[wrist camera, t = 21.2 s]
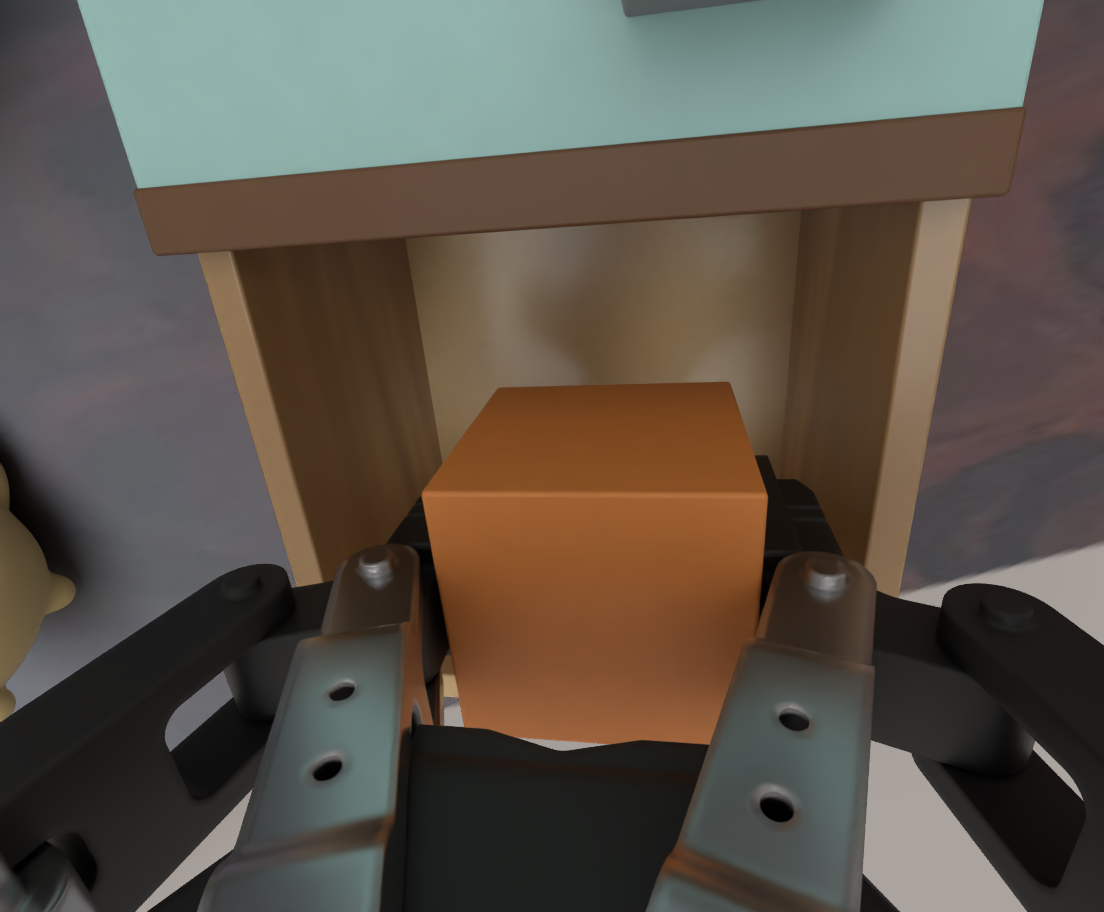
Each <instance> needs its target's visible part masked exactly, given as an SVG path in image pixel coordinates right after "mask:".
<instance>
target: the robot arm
mask: <svg viewBox="0 0 1104 912" xmlns="http://www.w3.org/2000/svg"><path fill="white" fill-rule="evenodd" d="M754 456H755V459H756V462H757V465H758V468H759V471H760V474H761V477H762V480H763V483H764V486H765V489H766V492H767V495H768V505H767V519H766V532H765V546H764V559H763V572H762V586H761V599H760V613H759V624H758V627H757V631H756V634H755V636H751V635H747V636H746V638H745V640H744V642H743V645H742V648H741V651H740V654H739V657H738V660H737V663H736V666H735V669H734V672H733V675H732V678H731V681H730V684H729V687H728V690H727V693H726V696H725V699H724V702H723V705H722V708H721V711H720V715H719V718H718V721H717V724H716V727H715V730H714V733H713V736H712V739H711V742H710V745H708V744H694V743H680V742H666V741H652V740H636V741H630V742H623V743H616V744H609V745H603V746H596V747H589V748H582V749H576V750H569V751H558V750H554V749H550V748H547V747H543V746H540V745H537V744H534V743H531V742H528V741H525V740H522V739H518V738H515V737H512V736H509V735H506V734H503V733H500V732H496V731H493V730H490V729H482V728H468V727H454V726H444V682H443V676H442V671H441V666H442V664H443V661H444V659H445V657H446V655H451V652H450V647H449V642H448V636H447V631H446V625H445V620H444V614H443V609H442V604H441V598H440V593H439V587H438V582H437V577H436V571H435V566H434V560H433V555H432V549H431V544H430V539H429V533H428V528H427V522H426V517H425V512H424V506H423V501H422V494H421V496H420V497H419V498H418V500H417V501H416V503H415V506H413V507H412V508H411V510H410V511H409V512H408V516H407V517H405V518H404V519H403V521H402V522H401V523H400V525H399V526H398V528H397V529H396V530H395V532H394V533H393V535H392V536H391V537H390V539H389V540H388V541H387V543H386V544H381V545H376V546H372V547H368V548H366V549H363V550H360V551H358V552H356V553H354V554H353V555H351V556H349V557H348V558H347V559H345V560H344V561H343V562H342V563H341V564H340V566H339V567H338V568H337V571H336V574H335V578H334V580H333V581H329V582H323V583H318V584H312V585H306V586H300V587H295V588H291V585H290V581H289V578H288V575H287V572H286V571H285V569H284V568H282V567H280V566H277V565H273V564H256V565H250V566H246V567H242V568H239V569H236V570H233V571H231V572H228V573H226V574H224V575H222V576H220V577H218V578H217V579H215V580H213V581H212V582H210V583H209V584H207V585H206V586H204V587H203V588H201V589H200V590H198V591H197V592H195V593H194V594H192V595H191V596H189V597H188V598H186V599H185V600H183V601H182V602H180V603H179V604H177V605H176V606H174V607H173V608H171V609H170V610H168V611H167V612H165V613H164V614H162V615H161V616H159V617H158V618H156V619H155V620H153V621H152V622H150V623H149V624H147V625H146V626H144V627H143V628H141V629H140V630H138V631H137V632H135V633H134V634H132V635H131V636H129V637H128V638H126V639H125V640H123V641H122V642H120V643H119V644H117V645H116V646H114V647H113V648H111V649H110V650H108V651H107V652H105V653H104V654H102V655H101V656H99V657H98V658H96V659H95V660H93V661H92V662H90V663H89V664H87V665H86V666H84V667H83V668H81V669H80V670H78V671H76V672H75V673H73V674H72V675H70V676H69V677H67V678H66V679H64V680H63V681H61V682H60V683H58V684H57V685H55V686H54V687H52V688H51V689H49V690H48V691H46V692H45V693H43V694H42V695H40V696H39V697H37V698H36V699H34V700H33V701H31V702H30V703H28V704H27V705H25V706H24V707H22V708H21V709H19V710H18V711H16V712H15V713H13V714H12V715H10V716H9V717H7V718H6V719H4V720H3V721H1V722H0V912H135V911H136V910H137V909H138V908H139V907H140V906H141V905H142V904H143V903H144V902H145V901H146V900H147V898H149V897H150V896H151V894H152V893H153V892H154V891H155V890H156V889H157V888H158V887H159V886H160V885H161V884H162V883H163V882H164V881H165V880H166V879H167V878H168V877H169V876H170V875H171V873H173V871H174V870H175V869H176V868H177V867H178V866H179V865H180V864H181V863H182V862H183V861H184V860H185V859H186V858H187V857H188V856H189V855H190V854H191V852H193V850H194V849H195V848H196V847H197V846H198V845H199V844H200V843H201V842H202V841H203V840H204V839H205V838H206V837H207V836H208V835H209V833H211V832H212V830H213V829H214V828H215V827H216V826H217V825H218V824H219V823H220V822H221V821H222V820H223V819H224V818H225V817H226V816H227V815H228V814H229V813H230V812H231V811H232V810H233V808H234V807H235V806H236V805H237V804H238V803H239V802H240V801H241V800H242V799H243V798H244V797H245V796H246V795H247V794H248V793H249V792H250V791H251V790H252V789H253V790H252V793H251V796H250V800H249V803H248V807H247V810H246V813H245V816H244V819H243V823H242V826H241V829H240V833H239V836H238V839H237V842H236V845H235V847H234V849H233V850H232V851H230V852H229V853H228V854H227V855H225V856H223V857H222V858H221V859H219V860H218V861H217V862H215V863H214V864H212V865H211V866H210V867H208V868H207V869H205V870H204V871H203V872H201V873H200V874H198V875H197V876H196V877H194V878H193V879H191V880H190V881H189V882H187V883H186V884H185V885H183V886H182V887H180V888H179V889H178V890H176V891H175V892H173V893H172V894H171V895H169V896H168V897H167V898H165V899H164V900H163V901H161V902H160V903H158V904H157V905H156V906H154V907H153V908H151V909H150V910H149V911H147V912H900V911H899V910H898V909H897V908H896V907H895V906H894V905H893V904H892V903H891V902H890V901H889V900H888V899H887V898H886V897H885V896H884V895H883V894H882V893H881V892H880V891H879V890H878V889H877V888H876V887H875V886H874V885H873V884H872V883H871V882H870V881H869V880H868V878H866V876H864V874H863V873H862V872H863V855H864V839H865V824H866V807H867V792H868V776H869V761H870V745H871V744H870V743H871V740H872V741H875V742H879V743H882V744H885V745H888V746H891V747H894V748H898V749H901V750H904V751H907V752H910V753H912V757H913V759H914V761H915V763H916V765H917V766H918V768H919V769H920V771H921V772H922V773H923V775H924V776H925V777H926V779H927V780H928V781H929V782H930V784H931V785H932V787H933V788H934V789H935V790H936V792H937V793H938V794H939V796H940V797H941V798H942V800H943V801H944V802H945V804H946V805H947V806H948V807H949V809H950V810H951V812H952V813H953V814H954V816H955V817H956V818H957V820H958V821H959V822H960V824H961V825H962V826H963V827H964V829H965V830H966V831H967V832H968V834H969V835H970V837H971V838H972V839H973V841H974V842H975V843H976V845H977V846H978V847H979V849H980V850H981V851H982V853H983V854H984V855H985V856H986V858H987V859H988V860H989V862H990V863H991V864H992V866H993V867H994V868H995V870H996V871H997V872H998V874H999V875H1000V876H1001V878H1002V879H1003V880H1004V881H1005V883H1006V884H1007V885H1008V887H1009V888H1010V889H1011V891H1012V892H1013V893H1014V895H1015V896H1016V897H1017V899H1018V900H1019V901H1020V903H1021V904H1022V905H1023V907H1024V908H1025V909H1026V911H1027V912H1104V645H1102V644H1101V643H1100V642H1098V641H1097V640H1096V639H1094V638H1093V637H1092V636H1090V635H1089V634H1087V633H1086V632H1085V631H1083V630H1082V629H1080V628H1079V627H1078V626H1077V625H1075V624H1074V623H1073V622H1071V621H1070V620H1068V619H1067V618H1066V617H1064V616H1063V615H1061V614H1060V613H1059V612H1058V611H1056V610H1055V609H1054V608H1052V607H1051V606H1049V605H1048V604H1046V603H1044V602H1043V601H1041V600H1039V599H1037V598H1035V597H1033V596H1031V595H1028V594H1026V593H1023V592H1021V591H1018V590H1015V589H1011V588H1007V587H1004V586H998V585H992V584H981V583H980V584H979V583H974V584H964V585H959V586H956V587H954V588H952V589H950V590H949V591H947V593H946V594H945V595H944V598H943V601H942V606H941V608H940V607H935V606H930V605H926V604H921V603H917V602H912V601H907V600H903V599H899V598H896V597H893V596H890V595H887V594H884V593H882V592H880V591H877V583H876V580H875V578H874V576H873V575H872V574H871V572H870V571H869V570H867V569H866V568H865V567H864V566H862V565H861V564H859V563H857V562H856V561H854V560H851V559H849V558H847V557H844V555H843V553H842V551H841V549H840V547H839V545H838V542H837V540H836V538H835V536H834V534H833V532H832V530H831V528H830V526H829V524H828V522H826V517H825V515H824V513H823V511H822V509H820V505H819V503H818V500H817V498H816V496H815V494H814V492H813V491H812V490H810V489H809V488H808V487H806V486H805V485H803V484H802V483H801V482H799V481H798V480H797V479H776V476H775V474H774V471H773V468H772V466H771V463H770V460H769V458H768V456H767V455H754ZM222 671H224V674H225V676H226V679H227V681H228V684H229V687H230V689H231V692H232V695H233V698H232V699H230V700H229V701H228V702H227V703H226V704H225V705H224V706H222V707H221V708H220V709H219V710H218V711H217V712H215V713H214V714H213V715H212V716H211V717H210V718H209V719H207V720H206V721H205V722H204V723H203V724H202V725H201V726H199V727H198V728H197V729H196V730H195V731H194V732H193V733H191V734H190V735H189V736H188V737H187V738H186V739H185V740H183V741H182V742H181V743H180V744H179V745H178V746H176V747H175V748H174V749H173V750H172V751H171V752H170V751H169V749H168V747H167V745H166V742H165V729H166V726H167V723H168V721H169V719H170V717H171V716H172V714H173V713H174V712H175V710H176V709H177V708H178V707H179V706H180V705H181V704H183V703H184V702H185V701H186V700H187V699H189V698H190V697H191V696H192V695H194V694H195V693H196V692H197V691H199V690H200V689H201V688H202V687H203V686H205V685H206V684H207V683H208V682H210V681H211V680H212V679H213V678H214V677H216V676H217V675H218V674H219V673H221V672H222ZM1035 741H1036V742H1037V743H1039V744H1040V745H1041V746H1042V747H1043V748H1044V749H1045V750H1046V751H1047V752H1048V753H1049V754H1050V755H1051V756H1052V757H1053V758H1054V759H1055V760H1056V761H1057V762H1058V763H1059V764H1060V765H1061V766H1062V767H1063V768H1064V769H1065V770H1066V772H1067V773H1068V774H1069V775H1070V776H1071V778H1072V779H1073V780H1074V782H1075V784H1076V785H1077V787H1078V789H1079V791H1080V792H1081V795H1082V798H1083V800H1084V801H1083V800H1082V799H1081V798H1080V797H1079V796H1078V795H1077V794H1076V793H1075V792H1074V791H1073V790H1072V789H1071V788H1070V787H1069V786H1068V785H1067V784H1066V783H1065V782H1064V781H1063V780H1062V779H1061V778H1060V777H1059V776H1058V775H1057V774H1056V773H1055V772H1054V771H1053V770H1052V769H1051V768H1050V767H1049V766H1048V765H1047V764H1046V763H1045V762H1044V761H1043V760H1042V759H1041V757H1040V756H1039V755H1037V753H1036V752H1035V751H1034V750H1033V746H1034V743H1035Z"/></svg>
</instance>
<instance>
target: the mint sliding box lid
mask: <svg viewBox="0 0 1104 912" xmlns="http://www.w3.org/2000/svg"><path fill="white" fill-rule="evenodd" d="M77 2H78V5H79V8H80V11H81V14H82V17H83V21H84V24H85V27H86V30H87V33H88V36H89V39H90V42H91V45H92V48H93V52H94V55H95V58H96V61H97V64H98V67H99V70H100V73H101V76H102V79H103V83H104V86H105V89H106V92H107V95H108V98H109V101H110V104H111V107H112V110H113V114H114V117H115V120H116V123H117V126H118V129H119V132H120V135H121V138H122V141H123V145H124V148H125V151H126V154H127V157H128V160H129V163H130V166H131V169H132V172H133V176H134V179H135V182H136V185H137V188H138V189H136V190H134V195H135V198H136V201H137V204H138V207H139V211H140V214H141V217H142V220H143V223H144V226H145V229H146V232H147V235H148V238H149V241H150V244H151V247H152V250H153V253H154V254H155V255H157V256H165V255H179V254H193V253H207V252H221V251H235V250H250V249H264V248H278V247H292V246H306V245H320V244H334V243H348V242H362V241H377V240H391V239H405V238H419V237H433V236H447V235H461V234H475V233H489V232H503V231H518V230H532V229H546V228H560V227H574V226H588V225H602V224H616V223H630V222H645V221H659V220H673V219H687V218H701V217H715V216H729V215H743V214H757V213H771V212H786V211H800V210H814V209H828V208H842V207H856V206H870V205H884V204H898V203H913V202H927V201H941V200H955V199H969V198H983V197H997V196H1005V195H1007V194H1008V193H1009V191H1010V187H1011V183H1012V178H1013V173H1014V168H1015V163H1016V158H1017V154H1018V149H1019V144H1020V139H1021V134H1022V129H1023V124H1024V120H1025V115H1026V108H1024V107H1022V106H1023V101H1024V96H1025V91H1026V87H1027V82H1028V77H1029V72H1030V67H1031V62H1032V57H1033V52H1034V47H1035V42H1036V37H1037V32H1038V28H1039V23H1040V18H1041V13H1042V8H1043V3H1044V0H77Z"/></svg>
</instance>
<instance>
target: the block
mask: <svg viewBox="0 0 1104 912" xmlns="http://www.w3.org/2000/svg"><path fill="white" fill-rule="evenodd" d="M422 501H423V506H424V512H425V517H426V522H427V528H428V533H429V539H430V544H431V549H432V555H433V560H434V566H435V571H436V577H437V582H438V587H439V593H440V598H441V604H442V609H443V614H444V620H445V625H446V631H447V636H448V642H449V647H450V652H451V658H452V663H453V669H454V674H455V680H456V685H457V690H458V696H459V701H460V707H461V712H462V717H463V723H464V727H468V728H482V729H490V730H493V731H496V732H500V733H503V734H506V735H509V736H512V737H517V738H531V739H544V740H545V739H546V740H559V741H572V742H585V743H599V744H616V743H623V742H630V741H636V740H652V741H666V742H680V743H694V744H708V745H710V742H711V739H712V736H713V733H714V730H715V727H716V724H717V721H718V718H719V715H720V711H721V708H722V705H723V702H724V699H725V696H726V693H727V690H728V687H729V684H730V681H731V678H732V675H733V672H734V669H735V666H736V663H737V660H738V657H739V654H740V651H741V648H742V645H743V642H744V640H745V638H746V636H747V635H751V636H755V634H756V631H757V627H758V624H759V613H760V599H761V586H762V572H763V559H764V546H765V532H766V519H767V505H768V495H767V492H766V489H765V486H764V483H763V480H762V477H761V474H760V471H759V468H758V465H757V462H756V459H755V456H754V453H753V450H752V447H751V444H750V441H749V438H748V435H747V432H746V429H745V426H744V423H743V419H742V416H741V413H740V410H739V407H738V404H737V401H736V398H735V395H734V392H733V389H732V386H731V384H730V382H691V383H652V384H613V385H574V386H535V387H499V388H497V389H496V391H495V392H494V394H493V395H492V396H491V398H490V399H489V400H488V402H487V403H486V405H485V406H484V407H483V409H482V410H481V412H480V413H479V414H478V416H477V417H476V418H475V420H474V421H473V423H472V424H471V425H470V427H469V428H468V429H467V431H466V432H465V434H464V435H463V436H462V438H461V439H460V440H459V442H458V443H457V445H456V446H455V447H454V449H453V450H452V451H451V453H450V454H449V456H448V457H447V458H446V460H445V461H444V462H443V464H442V465H441V467H440V468H439V469H438V471H437V472H436V473H435V475H434V476H433V478H432V479H431V480H430V482H429V483H428V485H427V486H426V487H425V489H424V490H423V491H422Z"/></svg>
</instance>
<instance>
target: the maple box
mask: <svg viewBox="0 0 1104 912" xmlns="http://www.w3.org/2000/svg"><path fill="white" fill-rule="evenodd" d="M971 199H972V198H969V199H955V200H941V201H927V202H913V203H898V204H884V205H870V206H856V207H842V208H828V209H814V210H800V211H786V212H771V213H757V214H743V215H729V216H715V217H701V218H687V219H673V220H659V221H645V222H630V223H616V224H602V225H588V226H574V227H560V228H546V229H532V230H518V231H503V232H489V233H475V234H461V235H447V236H433V237H419V238H405V239H391V240H377V241H362V242H348V243H334V244H320V245H306V246H292V247H278V248H264V249H250V250H235V251H221V252H207V253H198V257H199V260H200V263H201V267H202V270H203V273H204V277H205V280H206V283H207V287H208V290H209V293H210V297H211V300H212V304H213V307H214V310H215V314H216V317H217V320H218V324H219V327H220V330H221V334H222V337H223V340H224V344H225V347H226V350H227V354H228V357H229V361H230V364H231V367H232V371H233V374H234V377H235V381H236V384H237V387H238V391H239V394H240V397H241V401H242V404H243V408H244V411H245V414H246V418H247V421H248V424H249V428H250V431H251V434H252V438H253V441H254V444H255V448H256V451H257V455H258V458H259V461H260V465H261V468H262V471H263V475H264V478H265V481H266V485H267V488H268V491H269V495H270V498H271V502H272V505H273V508H274V512H275V515H276V518H277V522H278V525H279V528H280V532H281V535H282V538H283V542H284V545H285V548H286V552H287V555H288V559H289V562H290V565H291V569H292V572H293V575H294V579H295V582H296V585H297V587H300V586H306V585H312V584H318V583H323V582H329V581H333V580H334V578H335V574H336V571H337V568H338V567H339V566H340V564H341V563H342V562H343V561H344V560H345V559H347V558H348V557H349V556H351V555H353V554H354V553H356V552H358V551H360V550H363V549H366V548H368V547H372V546H376V545H381V544H386V543H387V541H388V540H389V539H390V537H391V536H392V535H393V533H394V532H395V530H396V529H397V528H398V526H399V525H400V523H401V522H402V521H403V519H404V518H405V517H407V516H408V512H409V511H410V510H411V508H412V507H413V506H415V503H416V501H417V500H418V498H419V497H420V496H421V494H422V491H423V490H424V489H425V487H426V486H427V485H428V483H429V482H430V480H431V479H432V478H433V476H434V475H435V473H436V472H437V471H438V469H439V468H440V467H441V465H442V464H443V462H444V461H445V460H446V458H447V457H448V456H449V454H450V453H451V451H452V450H453V449H454V447H455V446H456V445H457V443H458V442H459V440H460V439H461V438H462V436H463V435H464V434H465V432H466V431H467V429H468V428H469V427H470V425H471V424H472V423H473V421H474V420H475V418H476V417H477V416H478V414H479V413H480V412H481V410H482V409H483V407H484V406H485V405H486V403H487V402H488V400H489V399H490V398H491V396H492V395H493V394H494V392H495V391H496V389H497V388H499V387H535V386H574V385H613V384H652V383H691V382H730V384H731V386H732V389H733V392H734V395H735V398H736V401H737V404H738V407H739V410H740V413H741V416H742V419H743V423H744V426H745V429H746V432H747V435H748V438H749V441H750V444H751V447H752V450H753V453H754V455H767V456H768V458H769V460H770V463H771V466H772V468H773V471H774V474H775V476H776V479H797V480H798V481H799V482H801V483H802V484H803V485H805V486H806V487H808V488H809V489H810V490H812V491H813V492H814V494H815V496H816V498H817V500H818V503H819V505H820V509H822V511H823V513H824V515H825V517H826V522H828V524H829V526H830V528H831V530H832V532H833V534H834V536H835V538H836V540H837V542H838V545H839V547H840V549H841V551H842V553H843V555H844V557H847V558H849V559H851V560H854V561H856V562H857V563H859V564H861V565H862V566H864V567H865V568H866V569H867V570H869V571H870V572H871V574H872V575H873V576H874V578H875V580H876V583H877V591H880V592H882V593H884V594H887V595H890V596H893V597H896V598H898V596H899V591H900V585H901V580H902V574H903V569H904V564H905V558H906V553H907V547H908V542H909V536H910V531H911V526H912V520H913V515H914V509H915V504H916V498H917V493H918V488H919V482H920V477H921V471H922V466H923V460H924V455H925V449H926V444H927V439H928V433H929V428H930V422H931V417H932V411H933V406H934V401H935V395H936V390H937V384H938V379H939V373H940V368H941V362H942V357H943V352H944V346H945V341H946V335H947V330H948V324H949V319H950V314H951V308H952V303H953V297H954V292H955V286H956V281H957V276H958V270H959V265H960V259H961V254H962V248H963V243H964V237H965V232H966V227H967V221H968V216H969V210H970V205H971ZM441 671H442V676H443V682H444V697H459V696H458V690H457V685H456V680H455V674H454V669H453V663H452V658H451V655H446V657H445V659H444V661H443V664H442V666H441Z"/></svg>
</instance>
